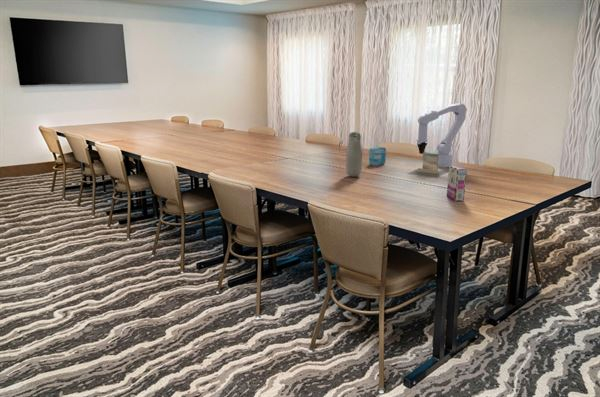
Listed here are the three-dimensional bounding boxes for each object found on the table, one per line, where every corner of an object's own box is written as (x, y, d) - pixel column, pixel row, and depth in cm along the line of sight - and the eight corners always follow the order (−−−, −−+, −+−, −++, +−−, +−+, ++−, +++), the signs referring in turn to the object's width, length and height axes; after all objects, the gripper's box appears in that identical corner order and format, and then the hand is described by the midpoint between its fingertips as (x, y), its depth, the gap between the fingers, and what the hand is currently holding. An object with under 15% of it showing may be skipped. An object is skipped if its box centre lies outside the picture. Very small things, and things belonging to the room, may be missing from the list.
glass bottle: (344, 177, 290) (344, 132, 282) (348, 174, 299) (349, 130, 292) (359, 178, 286) (360, 133, 279) (363, 175, 296) (364, 131, 288)
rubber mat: (419, 169, 314) (419, 165, 313) (448, 172, 303) (448, 168, 302) (407, 174, 297) (407, 170, 297) (437, 178, 286) (438, 174, 286)
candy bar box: (464, 201, 233) (467, 169, 229) (454, 201, 233) (457, 169, 229) (455, 195, 244) (457, 165, 240) (446, 196, 244) (448, 165, 240)
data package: (373, 165, 327) (373, 148, 324) (368, 164, 330) (369, 148, 327) (385, 163, 333) (386, 147, 330) (380, 163, 337) (381, 146, 334)
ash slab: (424, 170, 307) (425, 152, 304) (437, 172, 302) (439, 153, 299) (422, 171, 304) (423, 153, 301) (435, 173, 299) (437, 154, 296)
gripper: (420, 132, 323) (419, 151, 327) (413, 134, 312) (412, 154, 315) (430, 132, 320) (429, 152, 323) (423, 135, 308) (422, 155, 312)
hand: (421, 153), depth 319 cm, fingers closed
